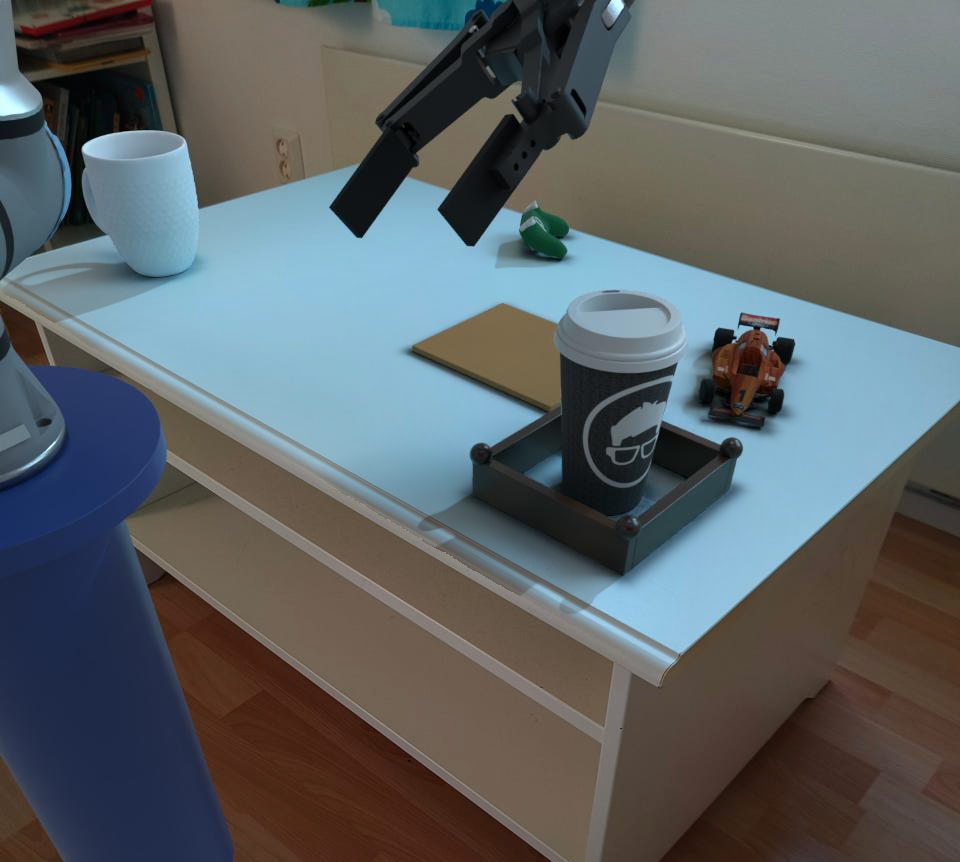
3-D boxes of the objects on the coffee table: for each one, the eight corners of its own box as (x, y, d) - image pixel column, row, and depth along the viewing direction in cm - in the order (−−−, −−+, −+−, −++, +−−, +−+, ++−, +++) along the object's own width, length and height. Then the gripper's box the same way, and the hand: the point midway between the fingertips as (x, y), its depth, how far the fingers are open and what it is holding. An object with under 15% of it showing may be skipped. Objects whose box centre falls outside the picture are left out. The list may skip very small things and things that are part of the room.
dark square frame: (465, 495, 72) (464, 444, 68) (583, 421, 80) (588, 372, 77) (625, 580, 64) (633, 528, 61) (737, 488, 73) (749, 438, 69)
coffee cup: (665, 467, 75) (697, 291, 64) (655, 535, 68) (688, 350, 58) (554, 453, 76) (567, 278, 66) (533, 517, 70) (544, 334, 59)
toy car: (690, 418, 81) (699, 373, 78) (714, 340, 92) (723, 299, 89) (778, 432, 79) (790, 388, 76) (791, 351, 90) (803, 310, 87)
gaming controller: (549, 247, 115) (517, 212, 112) (572, 226, 113) (540, 189, 110) (546, 276, 108) (512, 238, 105) (569, 254, 106) (535, 215, 103)
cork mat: (411, 351, 90) (411, 345, 89) (502, 307, 97) (502, 302, 97) (550, 412, 81) (550, 406, 81) (638, 360, 89) (638, 354, 88)
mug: (69, 267, 104) (31, 145, 95) (135, 237, 111) (105, 120, 102) (168, 292, 100) (137, 165, 90) (230, 258, 107) (207, 138, 98)
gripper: (779, -31, 48) (555, 283, 47) (510, 32, 67) (346, 259, 66) (723, -178, 43) (472, 172, 42) (448, -66, 61) (270, 179, 61)
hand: (395, 226), depth 54 cm, fingers open, 13 cm apart
